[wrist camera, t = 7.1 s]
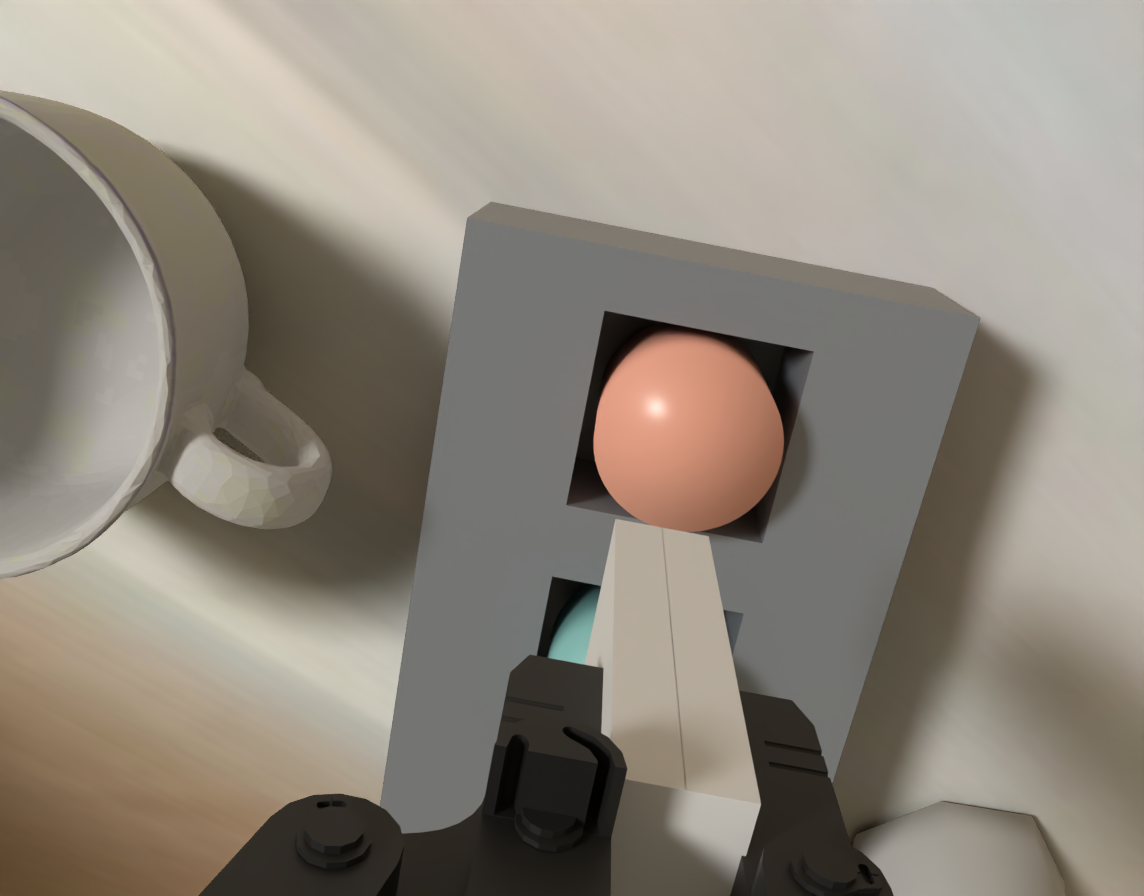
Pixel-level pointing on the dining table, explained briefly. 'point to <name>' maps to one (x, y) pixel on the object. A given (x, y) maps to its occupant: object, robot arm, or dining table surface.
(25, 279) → the teacup
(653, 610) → the robot arm
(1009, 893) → the flask
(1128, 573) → the dining table surface
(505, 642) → the console
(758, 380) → the salmon orange ball
